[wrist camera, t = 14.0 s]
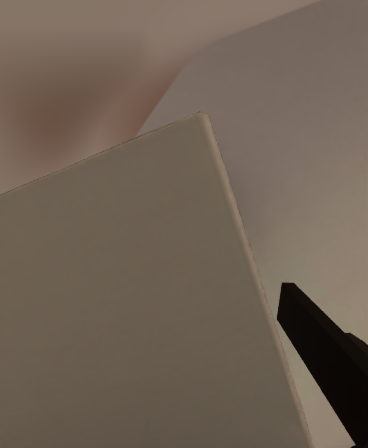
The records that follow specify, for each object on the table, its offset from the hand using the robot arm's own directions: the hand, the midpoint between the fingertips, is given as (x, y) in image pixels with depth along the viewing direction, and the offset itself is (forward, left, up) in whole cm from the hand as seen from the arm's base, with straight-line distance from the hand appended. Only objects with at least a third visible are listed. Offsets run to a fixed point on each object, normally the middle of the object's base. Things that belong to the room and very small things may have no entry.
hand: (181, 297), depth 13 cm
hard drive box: (0, 0, -11) cm, 11 cm away
